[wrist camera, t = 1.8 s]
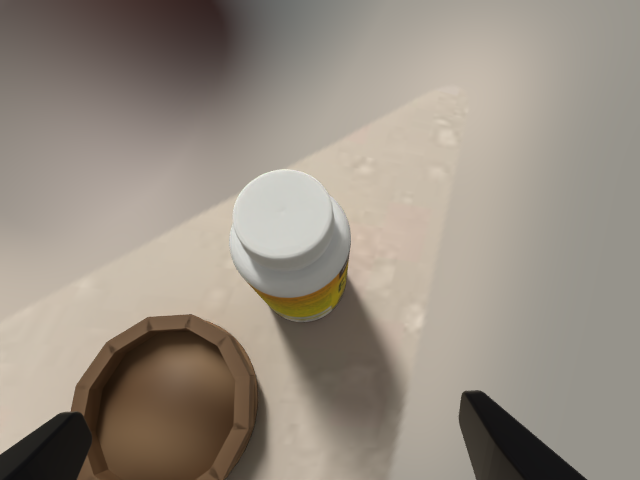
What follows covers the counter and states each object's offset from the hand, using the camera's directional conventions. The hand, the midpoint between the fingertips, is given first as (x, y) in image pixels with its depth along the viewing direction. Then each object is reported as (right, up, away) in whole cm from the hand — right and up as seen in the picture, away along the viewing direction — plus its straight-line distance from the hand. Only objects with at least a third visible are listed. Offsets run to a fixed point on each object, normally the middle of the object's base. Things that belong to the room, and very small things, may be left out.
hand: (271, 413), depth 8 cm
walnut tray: (-7, -6, +12) cm, 15 cm away
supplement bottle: (0, +1, +15) cm, 15 cm away
